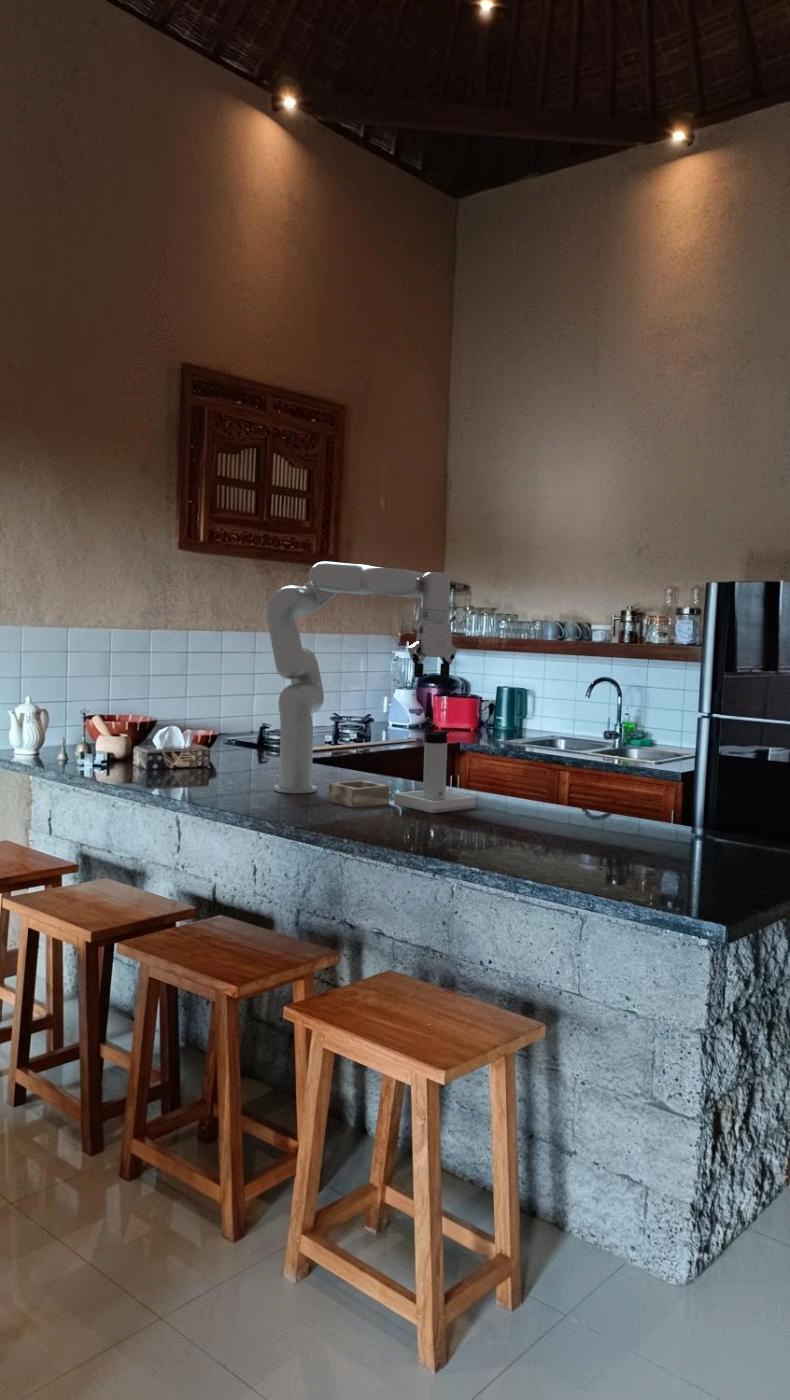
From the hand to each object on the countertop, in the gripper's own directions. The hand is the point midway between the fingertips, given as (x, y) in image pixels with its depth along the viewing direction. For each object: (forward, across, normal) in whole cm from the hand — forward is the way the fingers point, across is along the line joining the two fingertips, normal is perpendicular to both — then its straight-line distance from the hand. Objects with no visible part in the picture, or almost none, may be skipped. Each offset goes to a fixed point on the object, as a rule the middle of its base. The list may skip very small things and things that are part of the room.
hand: (431, 677), depth 286 cm
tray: (+35, -2, -7) cm, 36 cm away
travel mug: (+34, -2, -7) cm, 35 cm away
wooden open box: (+36, -18, +8) cm, 40 cm away
